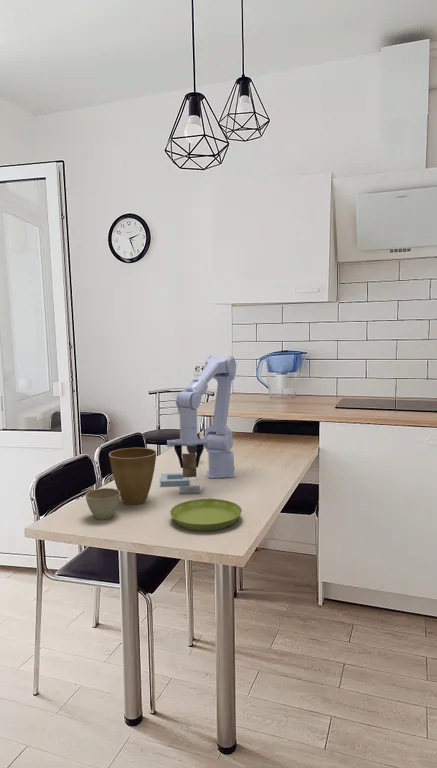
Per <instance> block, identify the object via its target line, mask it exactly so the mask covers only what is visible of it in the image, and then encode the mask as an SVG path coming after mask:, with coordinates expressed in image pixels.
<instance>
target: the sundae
mask: <svg viewBox="0 0 437 768" xmlns="http://www.w3.org/2000/svg"><path fill="white" fill-rule="evenodd" d="M197 439H201V437H200V432H197ZM186 451H187V452H188V453H196V446H186Z"/></svg>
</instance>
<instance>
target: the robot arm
mask: <svg viewBox="0 0 437 768" xmlns="http://www.w3.org/2000/svg"><path fill="white" fill-rule="evenodd" d="M204 366H205V367H204V369H202V370H203V371H202V372H201V374H200V376H199V377H194V378H193V380H192V381H191V382H190V383H189V385H188V386H187V387H186V388H185V390H184V391H183V390H182V391H180V392H179V393H178V394H177V396H176V398H175V405H176V407H177V412H178V414H179V437H180V438H177V439H167V440H166V446H167V448H171V447H173V448H174V452H175V453H176V455H177V458H178V461H179V464H180V469H183V460H182V454H183V449H182V447H187V446H196V468H199V465H200V459H201V456H202V454H203V451H204V449H206V452H208V458H207V459H208V470H207V471H206V473H207V478H208V479H216V478H217V479H220V478H224V479H225V478H235V455H234V451H232V448H233V445H234V441H233V431H232V430H231V429H230V428H229V426H227V424H228V414H229V406H230V398H231V391H232V384H233V382H232V381H234V380H235V378H236V371H237V362H236V359H235V358H234V356H233V355H229V356H225V355H208V356H207V358H206V360H205V362H204ZM212 379H214V380H215V381H216V382H217V386H216V388H217V389H216V395H215V403H214V410H213V411H214V412H213V419H212V420H213V421H212V424H211V425H210V426H208V427H207V428H206V429H205V434H204V437H203V438H200V439H197V434H198V409H199V408H200V405H201V401H202V396H203V395H204V394H205V393H206V391H207V390H208V388H209V387H208V383H209V382H210V381H211V380H212Z"/></svg>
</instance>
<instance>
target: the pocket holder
mask: <svg viewBox="0 0 437 768" xmlns="http://www.w3.org/2000/svg"><path fill="white" fill-rule="evenodd" d="M181 486H190V477H183V472H166V473H165V472H164V473H160V487H181Z"/></svg>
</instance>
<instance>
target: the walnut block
mask: <svg viewBox="0 0 437 768" xmlns="http://www.w3.org/2000/svg"><path fill="white" fill-rule="evenodd" d="M182 462H183V468H182V473H183V477H189V478H197V467H196V453H189V452H188V453H182Z"/></svg>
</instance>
